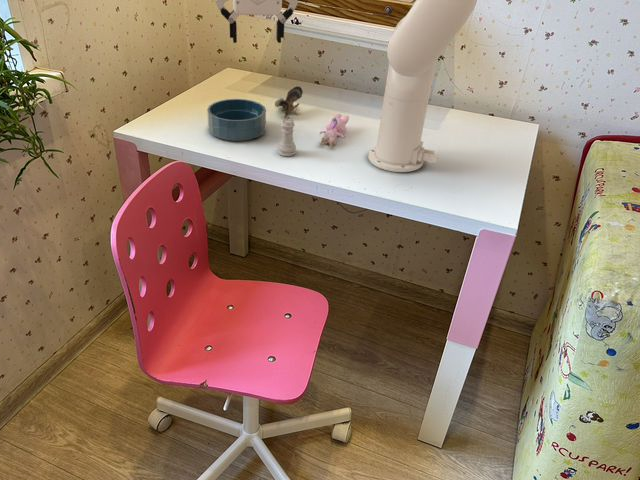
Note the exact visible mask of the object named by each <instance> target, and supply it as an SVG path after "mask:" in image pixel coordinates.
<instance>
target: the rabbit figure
mask: <svg viewBox="0 0 640 480" xmlns="http://www.w3.org/2000/svg"><path fill="white" fill-rule="evenodd" d="M349 120H350V116H349V115H347V114H345V115H343V116H342V114H341V113H335V114H334V115H333V116H332V117H331V120H330V121H329V123H328V124H326V126H325V130H321V131H319V134H320V135H322V134H323V135H322V138H321V141H320V143H319V146H320V147H323V146H324V145H327V144H329V146H328V148H329V147H330V148H331V149H332V148H333V147H334V146H335V145H336V143H337V140H338V136H339V137H341V138H345V135H344V134H345V133H346V132H347V128H346V125H347V124H348V123H349Z"/></svg>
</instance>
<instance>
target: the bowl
mask: <svg viewBox="0 0 640 480" xmlns="http://www.w3.org/2000/svg"><path fill="white" fill-rule="evenodd" d="M206 113H207V129H208V132H209V133H210V134H211V135H212V136H214V137H216V138H218V139H221V140H225V141H231V142H245V141H251V140H253V139H256V138H258V137H262V136H263V135H264V134H265V132H266V130H267V108H266V107H265V106H264V105H263V104H262V103H260V102H257V101H255V100H249V99H245V98H244V99H243V98H229V99H228V98H227V99H222V100H218V101H215V102H213V103H211V104H209V105H208V107H207V109H206Z"/></svg>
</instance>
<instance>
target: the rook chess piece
mask: <svg viewBox="0 0 640 480" xmlns="http://www.w3.org/2000/svg"><path fill="white" fill-rule="evenodd" d="M295 125H296V124H295V122H294V119H292V118H288V117H286V118H283V119H282V121H281V122H280V126H281V127H282V129H281V131H280V132H281V139H280V141H279V143H278V145H277V150H276V151H277V154H278V155H280V156H281V157H287V158H288V157H293V156H294V155H296V153H297V150H296V149H297V146H296V143H295V142H294V127H295Z"/></svg>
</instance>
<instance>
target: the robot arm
mask: <svg viewBox="0 0 640 480" xmlns="http://www.w3.org/2000/svg"><path fill="white" fill-rule="evenodd" d="M228 1H229V0H215V4H216V6H217V8H218V10H219V12H220V14H221V15H222V16H223V17H224V18H225V19H226V21H228V23H229V25H228V26H229V38H230V39H232V42H233V44H236V43H237V42H238V38H237V37H238V36H237V35H238V33H237V31H238V30H237V25H238V24H237V19H238V17H239V16H240V15H241V16H275V17H276V18H277V20H276V35H275V38H276V42H277V43H278V44H281V43H282V39H284V38H285V23H286V22H287V21H288V20H289V19H290V18H291V16H293V14H294V13H295V12H294V11H295V10H296V8H297V6H298V4H299V1H298V0H284V1H285V2H287V3H289V4H288V7H287V8H286V9H285V10H284V11H283V12H282V8H283V7H282V6H283V0H232V10H231V11H229V10H228V9H227V8H226V6H225V3H226V2H228ZM477 2H478V0H416V1H415V2H414V3H413V5H412V6H411V8H410V9H409V11H408V12H407V14H406V15H405V16H404V17H402V18H401V19H400V21H399V22H398V23H397V24H396V26H395V28H394V29H393V31H392V34H391V36H390V39H389V41H388V44H387V48H386V49H387V51H386V53H387V60H388V69H387V73H386V74H387V75H386V81H385V87H384V88H385V89H384V94H383V101H382V108H381V114H380V120H379V128H378V135H377V142H376V146H374V147H372V148H371V149H370V150H369V151H368V155H367V156H368V157H367V158H368V161H369V162H370V163H371V164H372V165H373V166H374V167H376V168H379V169H381V170H385V171H388V172H393V173H409V172H415V171H417V170H419V169H421V168H422V167H423V165H424V162H428V163H431V164H434V165H435V164H437V162H438V159H439V154H435V153H436V152H435V150H433V149H426V148H425V147H424V141H423V140H422V136H423V130H424V127H425V121H426V115H427V111H428V105H429V100H430V98H431V97H430V96H431V91H432V86H433V82H434V77H435V72H436V67H437V61H438V60H439V59H440V57H441V56H442V54H443V53H444V52H445V51H446V49H447V48H448V47H449V45H450V44H451V42H452V41H453V40H454V38H455V37H456V36H457V35H458V33H459V32H460V31H461V30H462V28H463V26H464V25H465V24H466V23H467V21H468V20H469V18H470V16H471V15H472V13H473V11H474V10H475V7H476V5H477ZM421 140H422V141H421Z"/></svg>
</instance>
